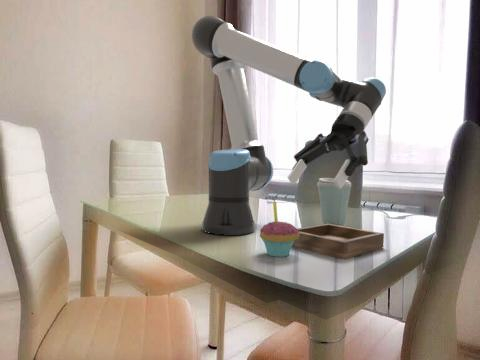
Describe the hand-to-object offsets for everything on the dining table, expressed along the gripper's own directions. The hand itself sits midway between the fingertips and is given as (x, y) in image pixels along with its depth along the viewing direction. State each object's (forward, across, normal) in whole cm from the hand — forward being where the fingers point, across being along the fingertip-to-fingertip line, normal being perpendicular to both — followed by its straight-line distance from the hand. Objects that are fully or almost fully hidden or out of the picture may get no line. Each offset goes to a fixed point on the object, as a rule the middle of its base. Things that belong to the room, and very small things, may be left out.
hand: (312, 182), depth 83 cm
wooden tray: (+7, -3, -14) cm, 16 cm away
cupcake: (+19, 0, -3) cm, 19 cm away
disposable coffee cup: (-9, +14, -31) cm, 35 cm away
